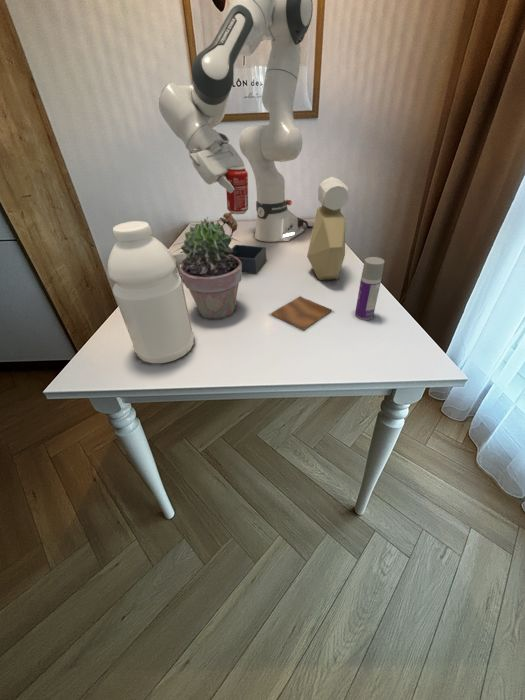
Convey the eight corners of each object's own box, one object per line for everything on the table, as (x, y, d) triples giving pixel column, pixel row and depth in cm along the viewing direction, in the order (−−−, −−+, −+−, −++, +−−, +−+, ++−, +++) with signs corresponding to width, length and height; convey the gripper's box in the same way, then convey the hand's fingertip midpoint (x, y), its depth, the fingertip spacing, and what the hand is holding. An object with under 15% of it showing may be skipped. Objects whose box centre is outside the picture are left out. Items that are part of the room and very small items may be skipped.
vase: (335, 257, 112) (345, 169, 95) (351, 288, 94) (367, 185, 76) (302, 259, 113) (306, 171, 95) (311, 290, 94) (318, 187, 76)
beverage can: (236, 208, 98) (234, 164, 90) (252, 211, 95) (252, 166, 88) (223, 212, 94) (220, 167, 86) (239, 216, 91) (238, 169, 84)
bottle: (199, 328, 80) (176, 213, 62) (189, 363, 69) (158, 236, 51) (145, 330, 80) (107, 216, 63) (126, 365, 69) (75, 239, 52)
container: (351, 312, 83) (360, 258, 74) (366, 309, 84) (376, 255, 75) (361, 321, 79) (372, 265, 70) (377, 317, 81) (389, 262, 71)
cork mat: (299, 298, 90) (299, 296, 90) (331, 311, 84) (331, 309, 83) (271, 314, 84) (271, 312, 83) (303, 330, 77) (303, 328, 77)
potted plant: (167, 311, 87) (143, 218, 72) (224, 288, 97) (214, 202, 81) (200, 338, 76) (180, 236, 61) (261, 310, 86) (257, 215, 70)
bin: (236, 257, 116) (235, 244, 113) (266, 260, 113) (266, 247, 110) (224, 270, 107) (222, 256, 104) (256, 273, 104) (255, 259, 101)
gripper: (192, 140, 77) (229, 187, 81) (228, 134, 92) (259, 174, 95) (179, 160, 81) (216, 204, 85) (216, 151, 96) (246, 189, 100)
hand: (239, 188), depth 90 cm, fingers closed on beverage can, 6 cm apart
